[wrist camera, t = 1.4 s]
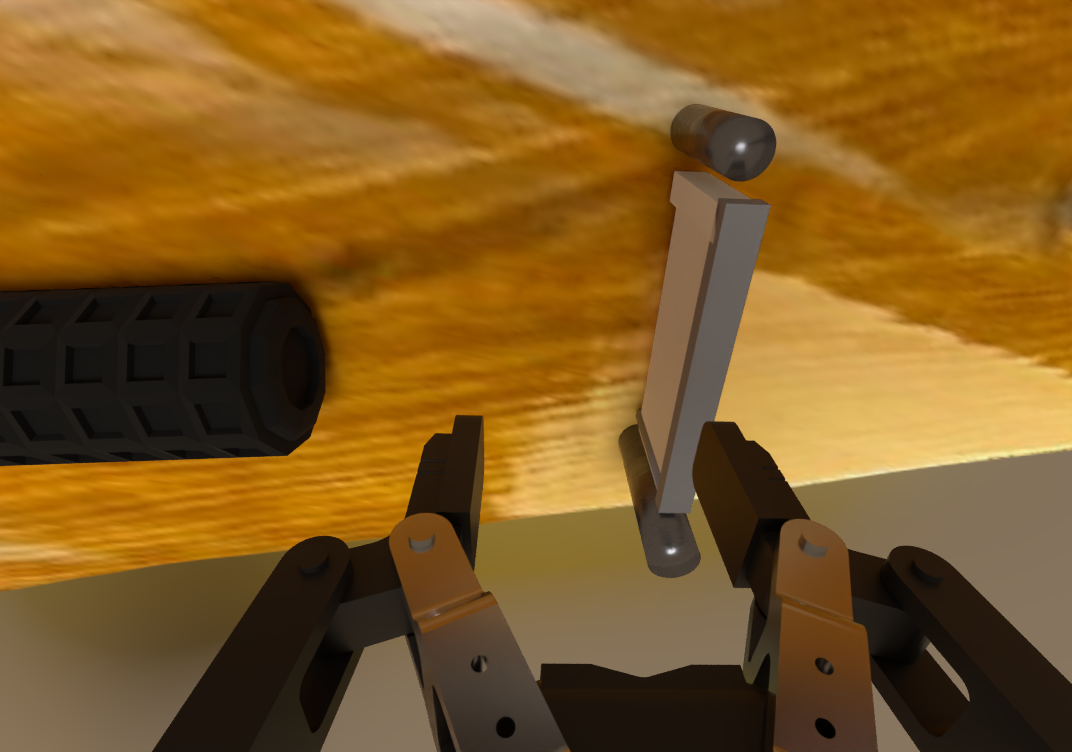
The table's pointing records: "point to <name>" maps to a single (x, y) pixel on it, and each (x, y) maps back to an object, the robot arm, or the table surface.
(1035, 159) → the table surface
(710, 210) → the panel
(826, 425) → the table surface
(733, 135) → the gate frame
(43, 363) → the roller
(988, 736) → the robot arm
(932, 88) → the table surface
